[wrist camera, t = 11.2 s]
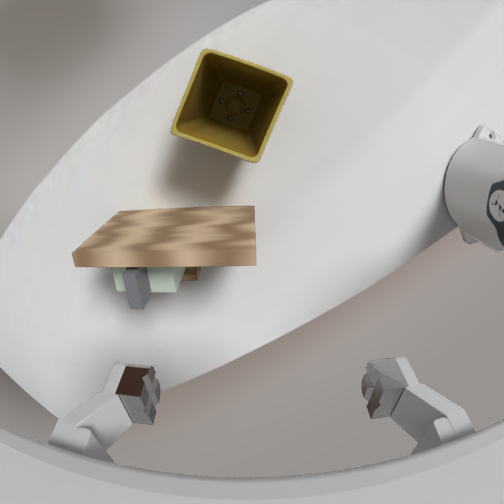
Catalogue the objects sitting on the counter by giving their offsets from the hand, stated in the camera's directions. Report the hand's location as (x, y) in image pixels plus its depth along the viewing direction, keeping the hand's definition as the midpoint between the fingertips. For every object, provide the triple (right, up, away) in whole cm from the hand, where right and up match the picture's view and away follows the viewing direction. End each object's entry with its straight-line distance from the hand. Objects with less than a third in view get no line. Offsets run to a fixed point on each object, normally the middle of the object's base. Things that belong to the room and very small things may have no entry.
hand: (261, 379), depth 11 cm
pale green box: (-12, +5, +25) cm, 28 cm away
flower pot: (-2, +22, +22) cm, 31 cm away
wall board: (-9, +7, +29) cm, 31 cm away
